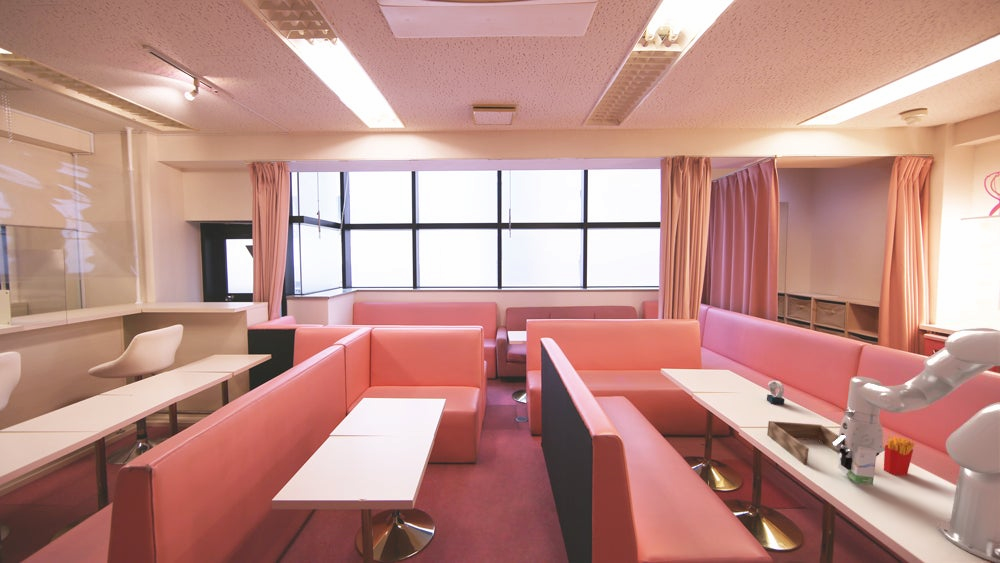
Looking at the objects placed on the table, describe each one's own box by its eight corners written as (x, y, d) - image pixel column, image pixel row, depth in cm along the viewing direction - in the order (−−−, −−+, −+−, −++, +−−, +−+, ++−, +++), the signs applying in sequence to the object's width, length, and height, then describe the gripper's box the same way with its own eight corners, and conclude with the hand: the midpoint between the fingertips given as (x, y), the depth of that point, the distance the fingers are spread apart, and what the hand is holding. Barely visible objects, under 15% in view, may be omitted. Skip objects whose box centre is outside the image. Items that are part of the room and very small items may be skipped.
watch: (776, 399, 183) (778, 379, 182) (786, 406, 175) (788, 385, 174) (764, 398, 184) (766, 378, 183) (773, 405, 176) (775, 383, 175)
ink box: (873, 485, 113) (878, 450, 112) (855, 483, 115) (859, 448, 114) (854, 469, 122) (858, 436, 121) (836, 467, 123) (840, 434, 122)
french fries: (890, 475, 122) (895, 442, 121) (877, 468, 126) (882, 435, 125) (914, 475, 122) (919, 442, 121) (901, 468, 126) (906, 436, 125)
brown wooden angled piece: (864, 469, 125) (867, 453, 125) (803, 464, 127) (805, 448, 126) (819, 438, 145) (821, 424, 144) (767, 435, 147) (768, 421, 146)
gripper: (843, 419, 113) (837, 473, 115) (902, 423, 112) (895, 477, 113) (824, 408, 121) (818, 459, 122) (879, 412, 119) (873, 463, 121)
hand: (855, 467), depth 118 cm, fingers closed on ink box, 5 cm apart
